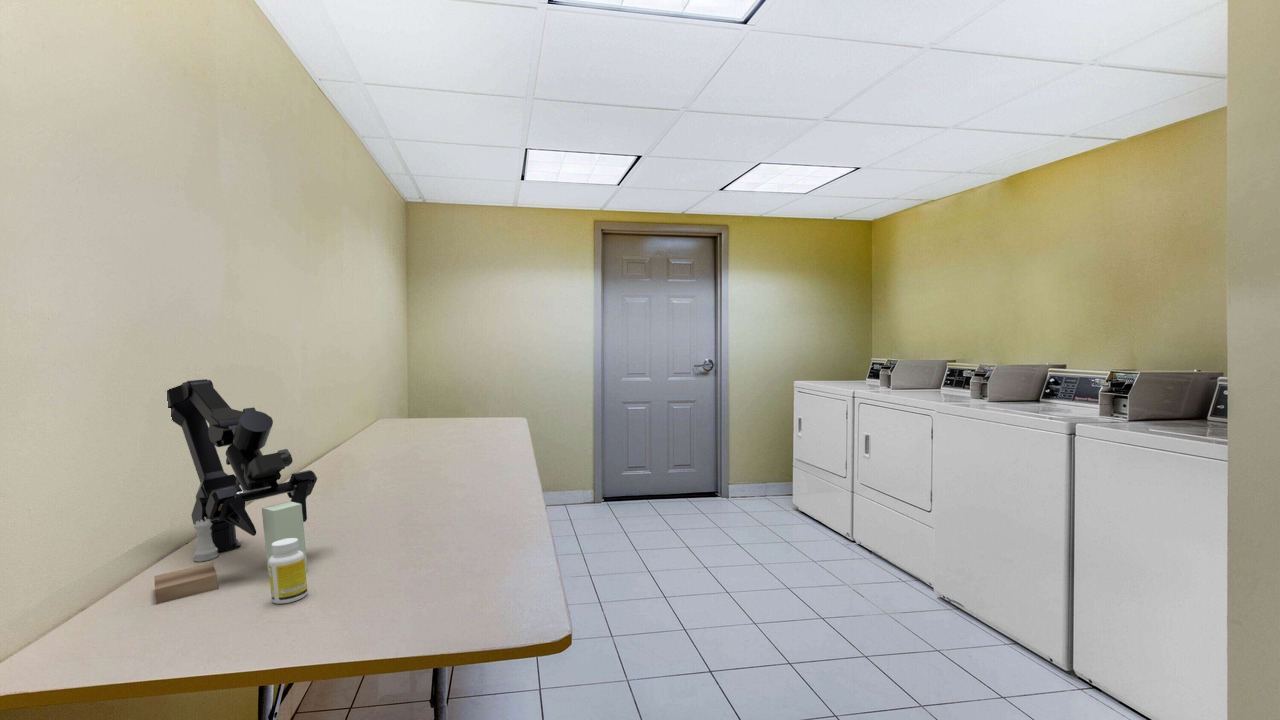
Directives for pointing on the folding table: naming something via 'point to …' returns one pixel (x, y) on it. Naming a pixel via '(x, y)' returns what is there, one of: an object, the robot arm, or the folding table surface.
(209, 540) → the rook chess piece
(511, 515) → the folding table surface
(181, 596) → the walnut block
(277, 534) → the sage post
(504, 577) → the folding table surface
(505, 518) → the folding table surface
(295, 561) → the supplement bottle
